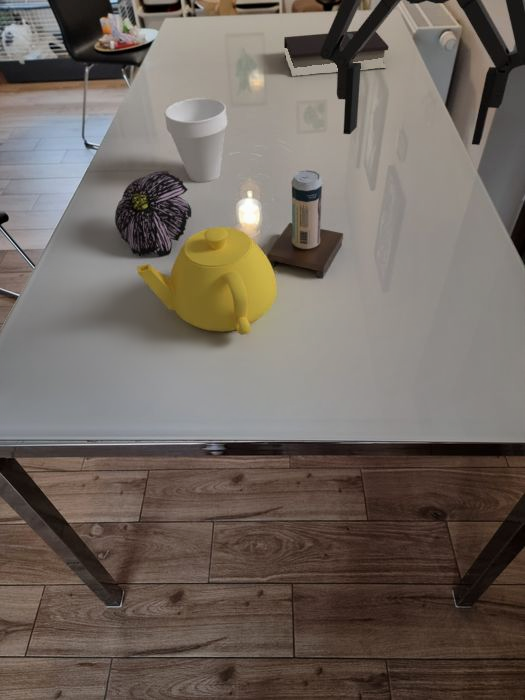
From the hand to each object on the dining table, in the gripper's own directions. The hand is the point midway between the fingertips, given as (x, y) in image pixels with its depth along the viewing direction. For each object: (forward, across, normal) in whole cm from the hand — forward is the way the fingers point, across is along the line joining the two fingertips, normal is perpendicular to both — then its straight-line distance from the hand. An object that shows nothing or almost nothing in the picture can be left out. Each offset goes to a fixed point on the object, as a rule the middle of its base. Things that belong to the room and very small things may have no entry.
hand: (410, 135), depth 54 cm
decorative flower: (+25, +45, -10) cm, 53 cm away
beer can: (+23, +17, -14) cm, 32 cm away
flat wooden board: (+26, +17, -14) cm, 34 cm away
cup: (+22, +48, -34) cm, 63 cm away
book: (+15, +44, -110) cm, 120 cm away
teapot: (+27, +25, +4) cm, 37 cm away
